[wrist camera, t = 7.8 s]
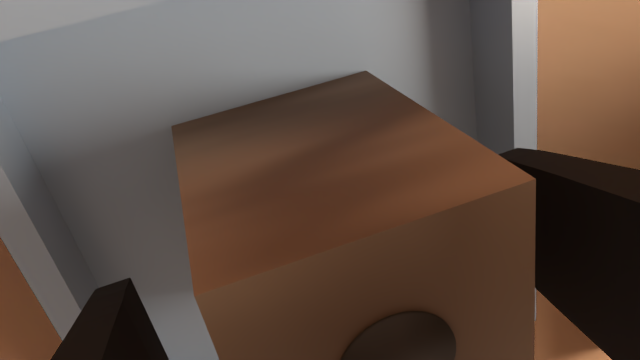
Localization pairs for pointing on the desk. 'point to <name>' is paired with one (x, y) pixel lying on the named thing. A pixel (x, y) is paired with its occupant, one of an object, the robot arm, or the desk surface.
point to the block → (355, 230)
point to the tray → (202, 100)
